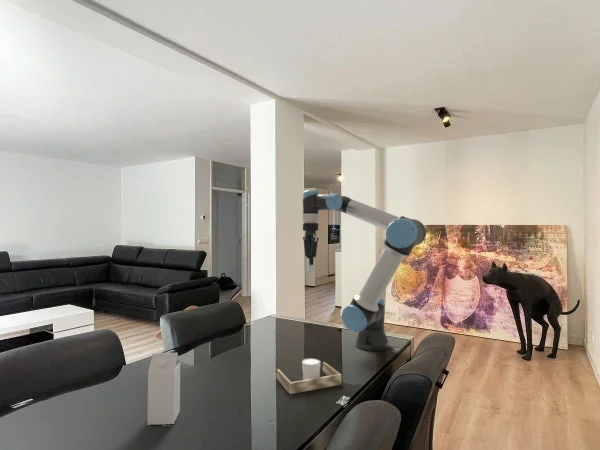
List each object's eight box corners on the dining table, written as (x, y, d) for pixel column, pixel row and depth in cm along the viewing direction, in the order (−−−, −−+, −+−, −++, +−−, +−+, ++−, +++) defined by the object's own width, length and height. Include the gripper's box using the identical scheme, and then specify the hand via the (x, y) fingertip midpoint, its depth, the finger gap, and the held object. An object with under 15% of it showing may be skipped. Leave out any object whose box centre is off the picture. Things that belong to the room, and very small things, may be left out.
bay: (324, 370, 141) (324, 361, 141) (341, 384, 128) (341, 374, 128) (276, 378, 133) (276, 369, 133) (289, 394, 121) (289, 383, 121)
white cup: (321, 384, 128) (321, 364, 128) (302, 385, 128) (302, 365, 128) (319, 376, 135) (319, 357, 135) (301, 377, 135) (301, 358, 135)
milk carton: (155, 413, 108) (156, 349, 108) (180, 412, 108) (180, 348, 108) (147, 426, 101) (148, 357, 101) (173, 425, 101) (174, 357, 101)
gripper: (323, 222, 171) (323, 272, 171) (311, 222, 183) (311, 269, 183) (309, 222, 168) (308, 273, 168) (298, 222, 180) (297, 270, 180)
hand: (310, 271), depth 176 cm, fingers closed
